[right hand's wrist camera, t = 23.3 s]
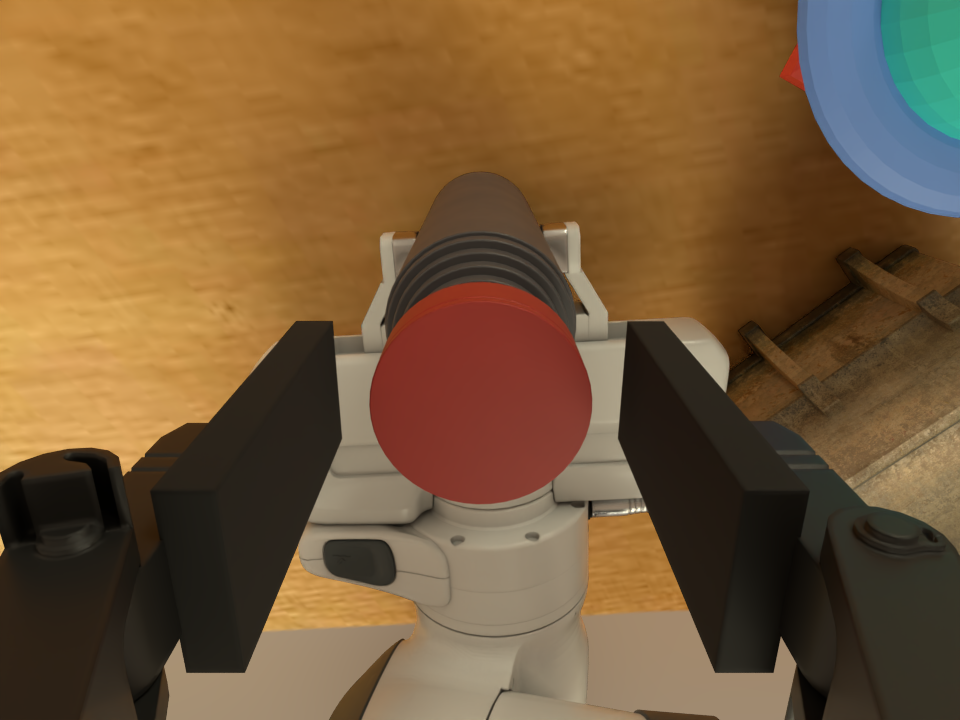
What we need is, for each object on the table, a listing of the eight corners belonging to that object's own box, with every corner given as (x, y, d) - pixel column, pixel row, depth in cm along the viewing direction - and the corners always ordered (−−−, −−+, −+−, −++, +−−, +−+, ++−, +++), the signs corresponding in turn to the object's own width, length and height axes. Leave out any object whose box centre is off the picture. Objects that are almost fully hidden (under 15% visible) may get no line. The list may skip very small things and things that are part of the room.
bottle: (451, 288, 35) (413, 532, 15) (413, 194, 33) (311, 326, 13) (545, 254, 34) (637, 460, 14) (511, 156, 32) (561, 232, 12)
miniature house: (663, 386, 36) (739, 503, 26) (895, 213, 33) (1094, 264, 22) (809, 559, 40) (928, 722, 30) (1029, 420, 37) (1253, 547, 26)
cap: (426, 246, 13) (420, 263, 12) (617, 331, 14) (632, 356, 13) (351, 424, 15) (337, 458, 13) (527, 494, 15) (532, 534, 14)
